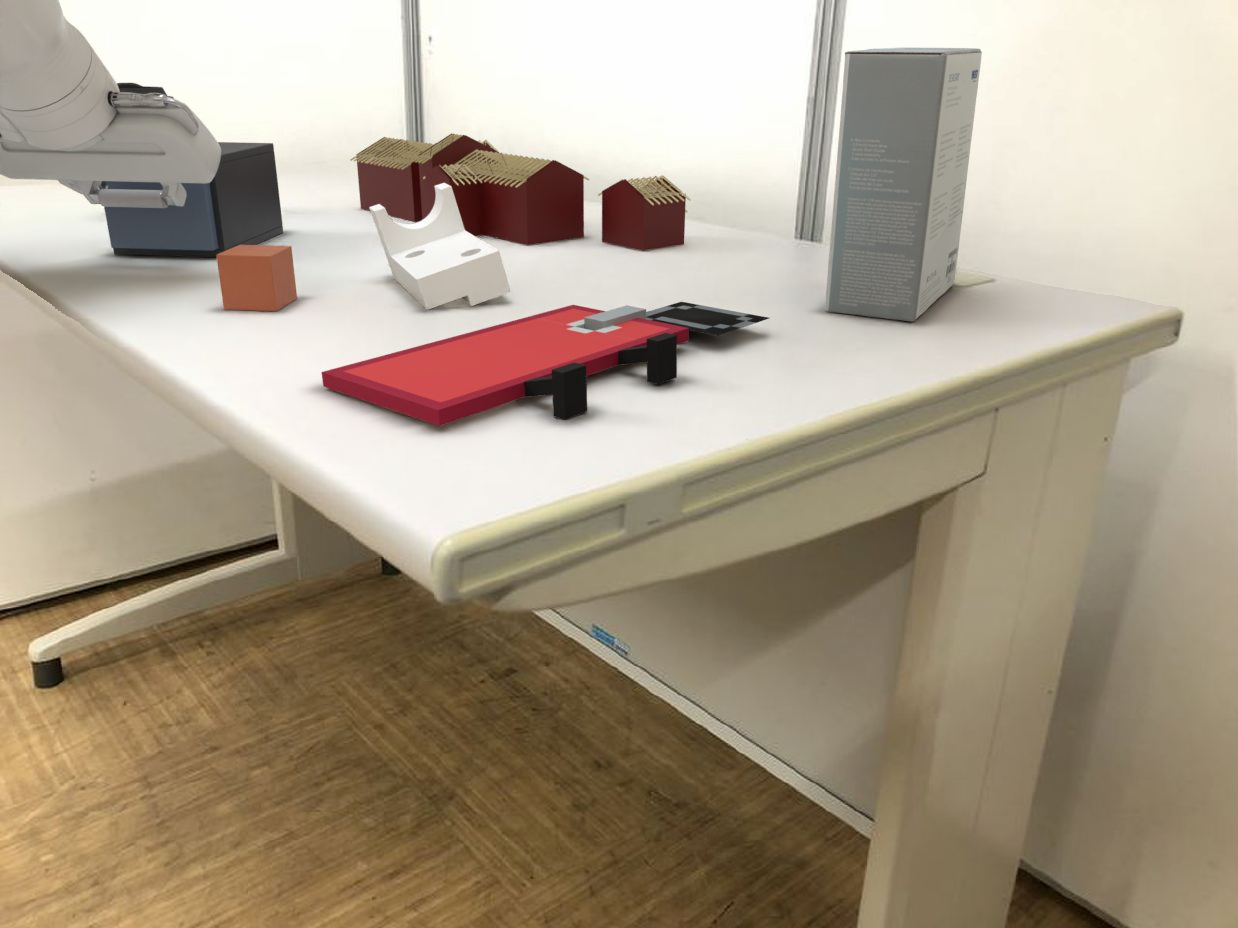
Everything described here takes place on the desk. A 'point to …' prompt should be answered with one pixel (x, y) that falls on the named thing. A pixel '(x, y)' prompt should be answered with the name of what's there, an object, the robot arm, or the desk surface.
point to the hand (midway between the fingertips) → (139, 199)
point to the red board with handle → (530, 360)
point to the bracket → (441, 255)
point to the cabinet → (238, 200)
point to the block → (257, 277)
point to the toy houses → (515, 194)
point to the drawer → (158, 217)
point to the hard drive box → (900, 178)
